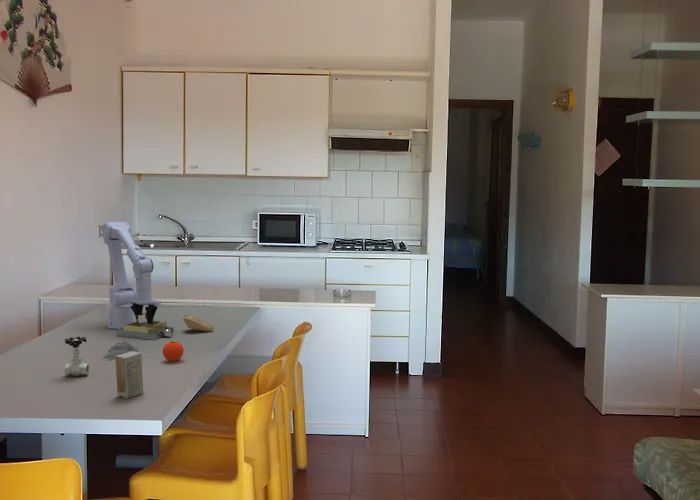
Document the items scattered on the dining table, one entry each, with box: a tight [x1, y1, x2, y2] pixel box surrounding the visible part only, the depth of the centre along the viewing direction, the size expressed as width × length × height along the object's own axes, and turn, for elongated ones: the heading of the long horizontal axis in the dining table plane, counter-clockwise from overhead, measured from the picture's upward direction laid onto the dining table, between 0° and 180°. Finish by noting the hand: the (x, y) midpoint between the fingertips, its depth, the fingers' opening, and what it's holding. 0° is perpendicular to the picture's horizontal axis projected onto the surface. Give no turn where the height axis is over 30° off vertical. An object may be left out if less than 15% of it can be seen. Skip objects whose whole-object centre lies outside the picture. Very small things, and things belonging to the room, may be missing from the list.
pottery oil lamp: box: [182, 314, 214, 332], centre depth 277 cm, size 9×12×7 cm
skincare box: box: [115, 351, 144, 399], centre depth 198 cm, size 6×4×12 cm
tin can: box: [138, 311, 150, 327], centre depth 271 cm, size 5×5×6 cm
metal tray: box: [116, 319, 174, 341], centre depth 271 cm, size 21×12×4 cm, turn 69°
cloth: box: [102, 340, 140, 362], centre depth 247 cm, size 26×14×2 cm, turn 175°
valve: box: [64, 336, 90, 377], centre depth 217 cm, size 7×7×12 cm
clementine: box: [162, 340, 184, 362], centre depth 234 cm, size 8×7×7 cm
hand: (144, 322), depth 271 cm, fingers closed on tin can, 5 cm apart
